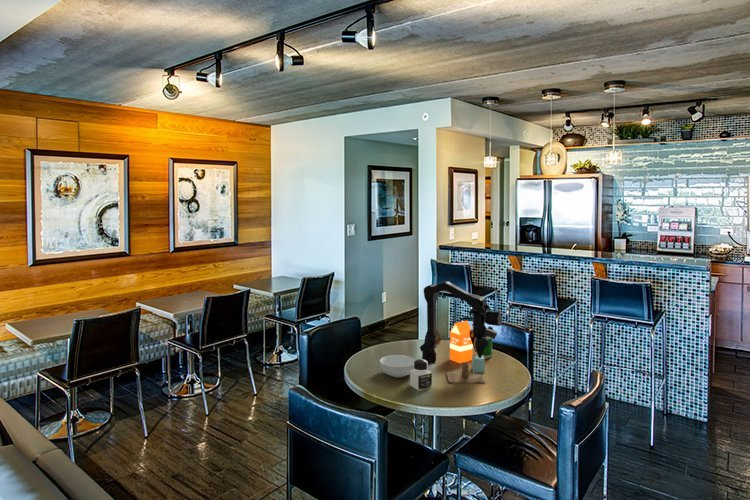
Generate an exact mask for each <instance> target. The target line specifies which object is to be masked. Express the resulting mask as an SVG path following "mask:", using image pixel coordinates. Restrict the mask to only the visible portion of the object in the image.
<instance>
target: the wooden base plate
mask: <svg viewBox="0 0 750 500" xmlns="http://www.w3.org/2000/svg"><path fill="white" fill-rule="evenodd" d="M481 373H482V372H473V371H472V372H469V364H468V362H463V363H461V372H460V371H459V372H458V371H457V372H454V371H453V372H449V371H447V372H446V373H445V375H446V377H447V381H448V384H466V385H467V384H475V385H476V384H479V385H480V384H486V382H485V379H484V377H483V376H482V375H483V374H481Z"/></svg>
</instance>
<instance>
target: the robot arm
mask: <svg viewBox="0 0 750 500" xmlns="http://www.w3.org/2000/svg"><path fill="white" fill-rule="evenodd" d="M443 291H446V292H447V293H449V294H451V295H453V296H455V297H457V298H458V299H460V300H462V301H463V302H466V304H468V306H469V307H470V308H471V310H470V311H468V314H470V315H472V324H471V328H472V329H471V330H470V331H469V336H470V339H471V341H472V344H473V348H474V352H475V353H476V354H478V357H479V358H481V357H482V353H483V350H484V348H485V347H487V346H489V342H488V340H487V339H486V338H483V337H486V336H488V337H490V338H492V340H495V339H496V337H497V334H498V332H497V331H495V329H494V328H493V327H492V326H496V327H500V326H501V324H502V320H503V319H502V314H501V311H498V310H491V309H492V308H491V307H490V306H489V304H488V303H487V299H486V297H484V296H482V295H481V296H480V295H478V294H473V293H470V292H468V291H467V290H465V289H463V288H461V287H459V286H457V285H456V284H454V283H451V282H450V281H448V280H447V281H443V282H441V283H438V284H435V283H432V284H430V285H429V284H428V285H427V286H425V287H424V288H423V296H424V297H423V298H424V299H425V301H426V320H427V321H426V322H427V323H426V328H427V329H426V333H425V336H424V343H423V344H421V345H420V346H419V349H420V352H421V356H422V357H421V359H423V360H426V361H427V362H428V364H436V361H437V352H436V350H435V349H437V346H439V345H440V343H441V341H442V339H441V338H442V337H441V332H439V331H438V330H437V325H438V324H437V323H438V321H437V301H438V299H439V294H440V292H443ZM486 325H487V326H486Z"/></svg>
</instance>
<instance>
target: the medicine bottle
mask: <svg viewBox="0 0 750 500" xmlns="http://www.w3.org/2000/svg"><path fill="white" fill-rule="evenodd" d="M428 365H429V363H428V362H427V361H426V360H423V359H422V358H420V359H415V361H414V370H410V374H409V385H410V387H412V388H414V389H415V390H417V391H419V392H420V391H424V390H429V389H432V387H433V384H432V383H433V372H431V371H430V370H429V367H428Z"/></svg>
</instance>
